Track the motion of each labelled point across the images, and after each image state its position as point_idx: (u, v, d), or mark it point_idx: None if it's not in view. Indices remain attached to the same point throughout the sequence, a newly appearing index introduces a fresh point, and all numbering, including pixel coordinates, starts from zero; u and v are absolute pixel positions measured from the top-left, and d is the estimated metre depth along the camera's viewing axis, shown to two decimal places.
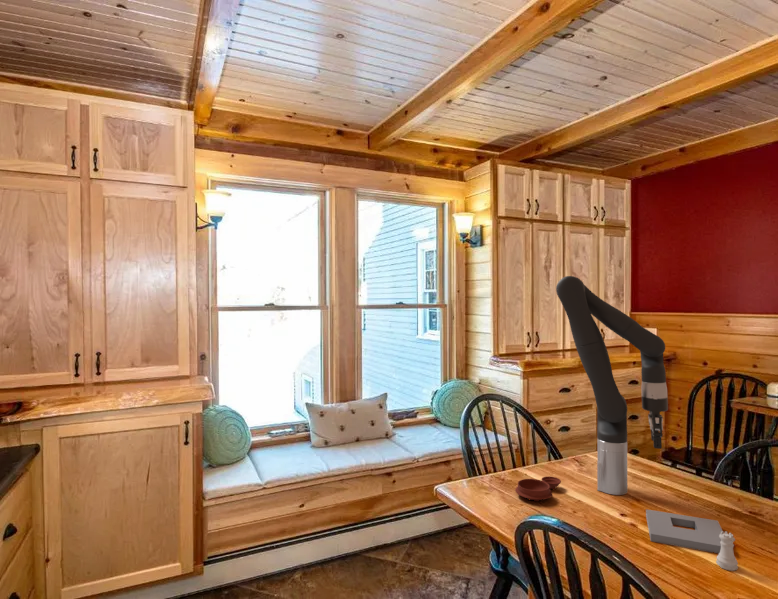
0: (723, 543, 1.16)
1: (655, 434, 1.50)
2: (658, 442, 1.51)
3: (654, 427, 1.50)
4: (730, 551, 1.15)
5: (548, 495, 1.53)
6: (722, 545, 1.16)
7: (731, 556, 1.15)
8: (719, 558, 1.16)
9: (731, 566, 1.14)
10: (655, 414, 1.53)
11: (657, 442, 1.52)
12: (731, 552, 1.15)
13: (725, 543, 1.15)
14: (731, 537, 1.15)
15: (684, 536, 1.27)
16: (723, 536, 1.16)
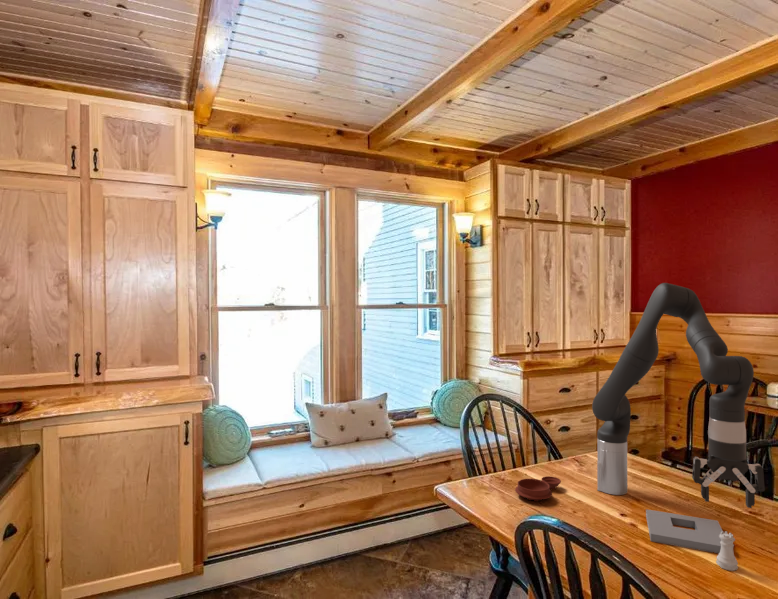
0: (723, 543, 1.16)
1: None
2: None
3: (763, 479, 1.12)
4: (730, 551, 1.15)
5: (548, 495, 1.53)
6: (722, 545, 1.16)
7: (731, 556, 1.15)
8: (719, 558, 1.16)
9: (731, 566, 1.14)
10: None
11: None
12: (731, 552, 1.15)
13: (725, 543, 1.15)
14: (731, 537, 1.15)
15: (684, 536, 1.27)
16: (723, 536, 1.16)
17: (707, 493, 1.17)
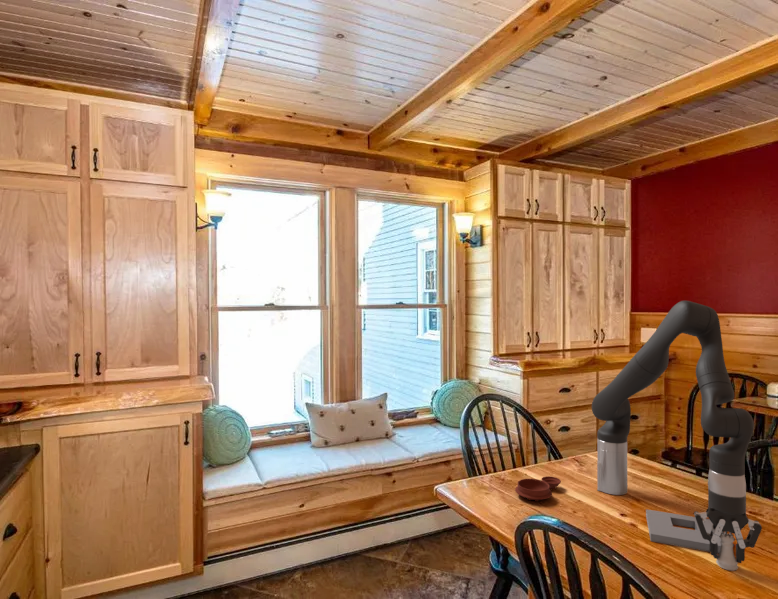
0: (723, 543, 1.16)
1: None
2: None
3: None
4: (730, 551, 1.15)
5: (548, 495, 1.53)
6: (722, 545, 1.16)
7: (731, 556, 1.15)
8: (719, 558, 1.16)
9: (731, 566, 1.14)
10: None
11: None
12: (731, 552, 1.15)
13: (725, 543, 1.15)
14: (731, 537, 1.15)
15: (684, 536, 1.27)
16: (723, 536, 1.16)
17: (716, 550, 1.16)
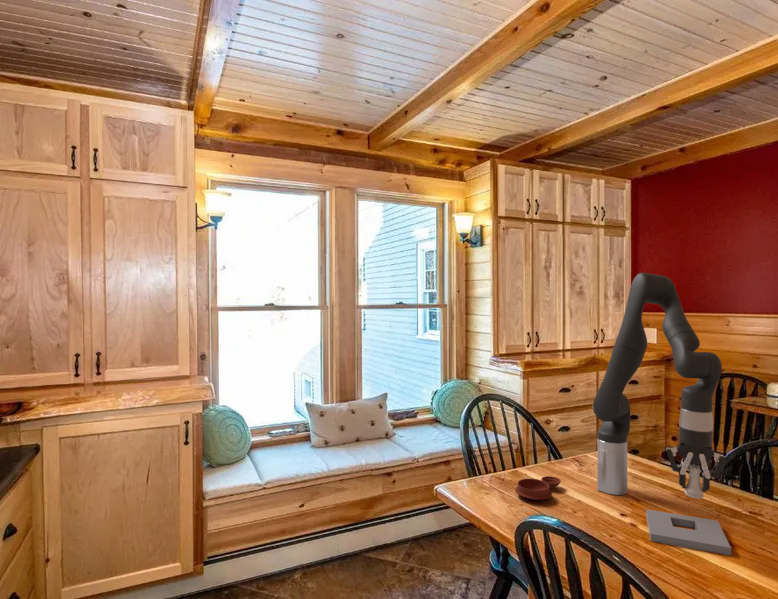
0: (691, 474, 1.27)
1: None
2: None
3: (721, 468, 1.24)
4: (697, 481, 1.26)
5: (548, 495, 1.53)
6: (690, 476, 1.27)
7: (698, 485, 1.26)
8: (686, 488, 1.28)
9: (697, 494, 1.26)
10: None
11: None
12: (698, 482, 1.26)
13: (693, 474, 1.27)
14: (698, 468, 1.26)
15: (684, 536, 1.27)
16: (691, 468, 1.27)
17: (684, 480, 1.28)
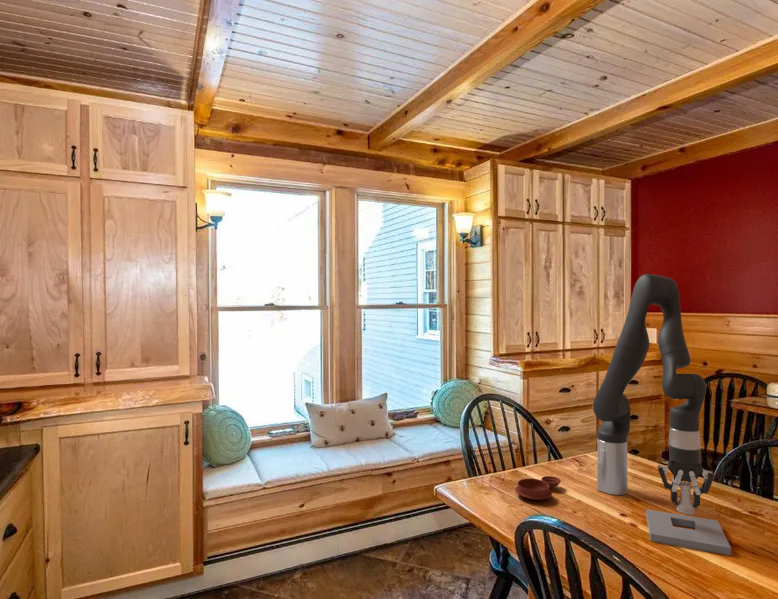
0: (682, 491, 1.33)
1: None
2: None
3: (710, 484, 1.30)
4: (688, 497, 1.32)
5: (548, 495, 1.53)
6: (681, 493, 1.33)
7: (689, 501, 1.32)
8: (678, 504, 1.33)
9: (689, 510, 1.31)
10: None
11: None
12: (689, 498, 1.32)
13: (684, 491, 1.33)
14: (688, 485, 1.32)
15: (684, 536, 1.27)
16: (682, 485, 1.33)
17: (676, 497, 1.33)
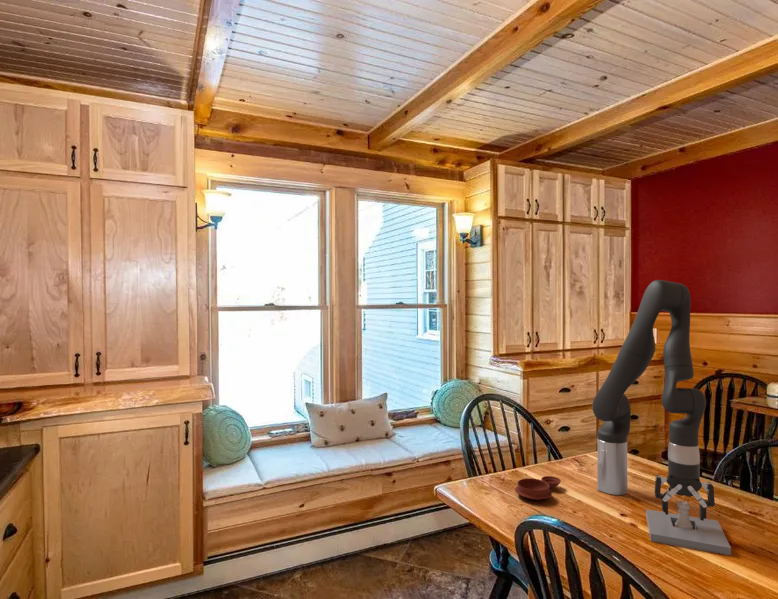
0: (680, 510, 1.33)
1: None
2: None
3: None
4: (686, 517, 1.32)
5: (548, 495, 1.53)
6: (679, 512, 1.33)
7: (687, 521, 1.32)
8: (676, 524, 1.34)
9: None
10: None
11: None
12: (687, 518, 1.32)
13: (682, 511, 1.33)
14: (687, 505, 1.32)
15: (684, 536, 1.27)
16: (680, 504, 1.33)
17: (666, 507, 1.34)
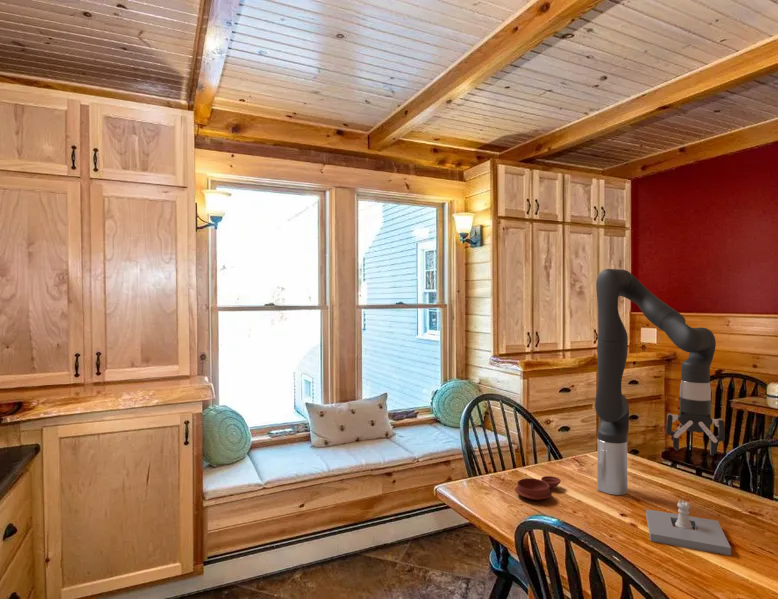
0: (680, 510, 1.33)
1: None
2: None
3: None
4: (686, 517, 1.32)
5: (548, 494, 1.53)
6: (679, 512, 1.33)
7: (687, 521, 1.32)
8: (676, 524, 1.34)
9: None
10: None
11: None
12: (687, 518, 1.32)
13: (682, 511, 1.33)
14: (687, 505, 1.32)
15: (684, 536, 1.27)
16: (680, 504, 1.33)
17: (677, 443, 1.38)
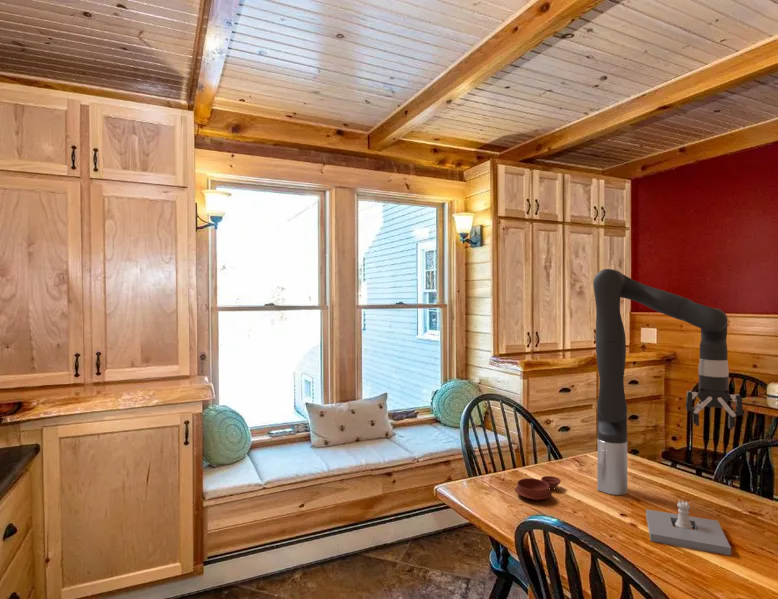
0: (680, 510, 1.33)
1: None
2: None
3: None
4: (686, 517, 1.32)
5: (548, 495, 1.53)
6: (679, 512, 1.33)
7: (687, 521, 1.32)
8: (677, 524, 1.34)
9: None
10: None
11: None
12: (687, 518, 1.32)
13: (682, 511, 1.33)
14: (687, 505, 1.32)
15: (684, 536, 1.27)
16: (680, 504, 1.33)
17: (697, 419, 1.45)
